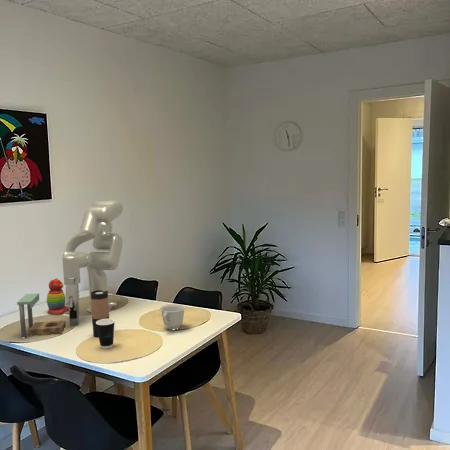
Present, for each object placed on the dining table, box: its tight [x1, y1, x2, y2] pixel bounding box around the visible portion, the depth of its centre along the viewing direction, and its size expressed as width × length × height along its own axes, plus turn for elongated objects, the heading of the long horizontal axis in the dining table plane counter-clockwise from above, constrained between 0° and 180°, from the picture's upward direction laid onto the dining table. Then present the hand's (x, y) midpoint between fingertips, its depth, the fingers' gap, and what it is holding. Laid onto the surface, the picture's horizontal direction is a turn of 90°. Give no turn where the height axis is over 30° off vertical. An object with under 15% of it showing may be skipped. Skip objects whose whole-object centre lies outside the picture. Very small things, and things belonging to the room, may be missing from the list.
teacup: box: [159, 303, 186, 330], centre depth 218 cm, size 12×15×10 cm
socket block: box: [28, 320, 67, 337], centre depth 220 cm, size 14×10×3 cm
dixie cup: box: [96, 318, 116, 349], centre depth 199 cm, size 8×8×11 cm
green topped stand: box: [16, 293, 40, 338], centre depth 218 cm, size 6×14×17 cm, turn 8°
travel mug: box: [91, 290, 110, 338], centre depth 212 cm, size 8×8×20 cm
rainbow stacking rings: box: [46, 278, 69, 316], centre depth 249 cm, size 11×10×18 cm
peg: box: [68, 301, 81, 327], centre depth 229 cm, size 4×4×12 cm
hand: (74, 316), depth 229 cm, fingers closed on peg, 4 cm apart
